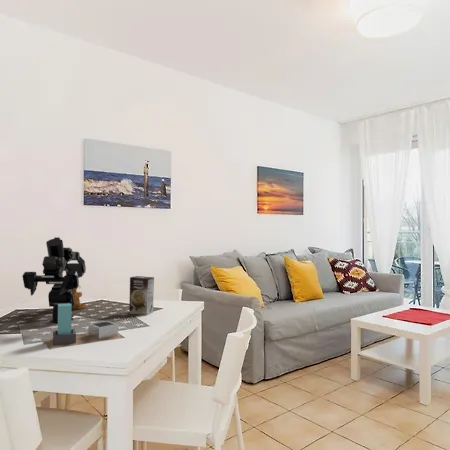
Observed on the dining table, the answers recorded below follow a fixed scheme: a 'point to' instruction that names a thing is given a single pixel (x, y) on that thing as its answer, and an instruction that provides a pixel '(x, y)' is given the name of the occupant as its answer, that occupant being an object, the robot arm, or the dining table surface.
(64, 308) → the plug
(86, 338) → the panel board
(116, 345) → the dining table surface
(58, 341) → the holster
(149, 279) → the coffee box
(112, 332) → the port
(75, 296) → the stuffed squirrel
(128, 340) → the dining table surface
